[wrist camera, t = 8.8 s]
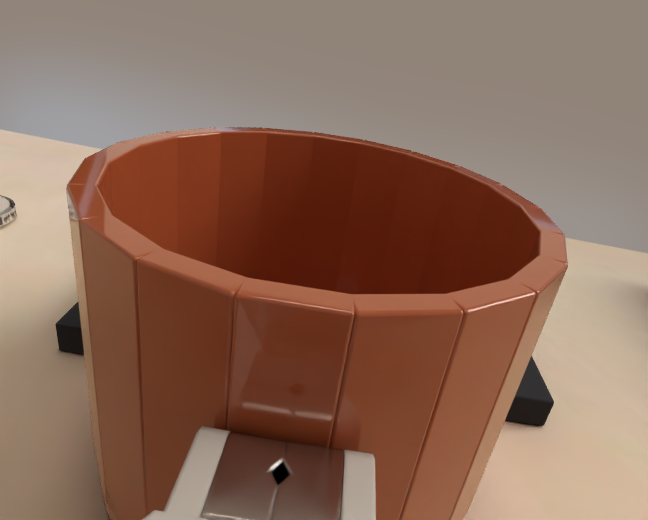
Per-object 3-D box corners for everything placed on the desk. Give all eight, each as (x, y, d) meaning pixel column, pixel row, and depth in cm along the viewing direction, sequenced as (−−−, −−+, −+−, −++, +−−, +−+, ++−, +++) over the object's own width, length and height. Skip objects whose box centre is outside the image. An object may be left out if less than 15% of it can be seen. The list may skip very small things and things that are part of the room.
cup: (28, 420, 15) (-23, 147, 11) (288, 300, 23) (310, 118, 19) (295, 773, 9) (384, 437, 5) (521, 441, 17) (620, 215, 13)
